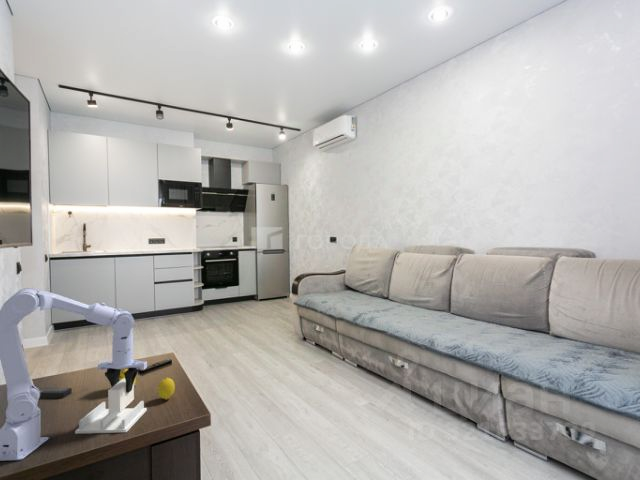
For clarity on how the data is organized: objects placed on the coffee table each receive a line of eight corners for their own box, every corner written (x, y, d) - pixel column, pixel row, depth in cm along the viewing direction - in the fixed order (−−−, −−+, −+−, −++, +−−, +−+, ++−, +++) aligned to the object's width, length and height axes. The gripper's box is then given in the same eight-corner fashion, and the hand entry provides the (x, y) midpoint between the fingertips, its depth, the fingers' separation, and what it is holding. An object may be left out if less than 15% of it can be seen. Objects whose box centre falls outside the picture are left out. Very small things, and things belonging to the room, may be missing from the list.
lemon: (154, 401, 119) (154, 379, 119) (168, 394, 123) (168, 373, 124) (164, 404, 116) (164, 382, 116) (178, 398, 121) (178, 376, 121)
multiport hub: (63, 399, 121) (63, 393, 121) (33, 399, 121) (33, 393, 121) (72, 393, 125) (72, 387, 125) (43, 393, 125) (43, 387, 125)
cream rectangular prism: (134, 399, 109) (133, 378, 109) (120, 412, 101) (119, 390, 101) (123, 399, 109) (122, 378, 109) (108, 412, 101) (108, 390, 101)
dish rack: (126, 432, 99) (126, 420, 99) (75, 433, 98) (75, 421, 98) (146, 410, 112) (146, 400, 112) (101, 411, 111) (101, 401, 111)
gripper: (151, 345, 110) (151, 385, 110) (107, 345, 109) (107, 386, 109) (140, 352, 103) (140, 395, 103) (93, 352, 102) (93, 396, 102)
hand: (122, 391), depth 106 cm, fingers closed on cream rectangular prism, 3 cm apart
